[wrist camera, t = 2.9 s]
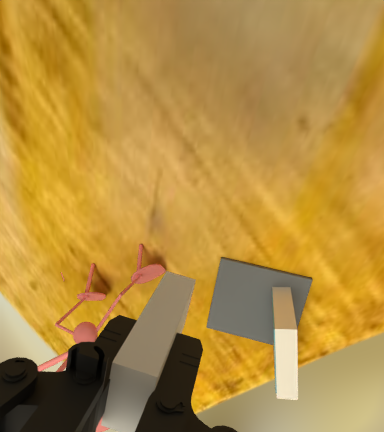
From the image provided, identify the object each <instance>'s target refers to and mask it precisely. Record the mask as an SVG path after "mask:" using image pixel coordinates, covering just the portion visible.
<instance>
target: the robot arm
mask: <svg viewBox="0 0 384 432" xmlns="http://www.w3.org/2000/svg"><path fill="white" fill-rule="evenodd" d="M195 281H196V280H195V279H191V278H188V277H185V276H181V275H178V274H174V273H171V272H168V271H166V273H165V275H164V277H163V278H162V280H161V282H160V283H159V285H158V287H157V288H156V290H155V292H154V293H153V295H152V297H151V298H150V300H149V302H148V303H147V305H146V307H145V308H144V310H143V312H142V313H141V315H140V317H139V318H138V320H134V319H130V318H127V317H124V316H121V315H119V316H117V317H115V318H113V319H112V320H110V321H109V322H108V324H107V325H106V326H105V328H104V330H103V331H102V332H101V333H100V335H99V337H97V339H96V340H95V342H90V341H89V342H80V343H78V344H75V345H73V346H72V347H71V348H70V349H69V350H68V357H67V365H66V370H65V371H61V372H42V371H38V367H37V365H36V364H35V363H34V362H33V361H32V360H29V359H27V358H18V357H17V358H12V359H8V360H6V361H4V362H2V363H0V432H96V427H97V426H98V424H99V422H100V420H101V418H102V422H101V426H104V427H107V428H110V429H113V430H115V431H118V432H237V431H236V430H234V429H233V428H230V427H227V426H215V427H213V428H212V429H211V428H209V427H208V426H207V425H205V424H204V423H203V422H202V421H200V420H199V419H198V418H197V416H196V415H195V414H194V412H193V409H192V406H191V396H192V392H193V388H194V384H195V380H196V376H197V372H198V368H199V364H200V360H201V356H202V352H203V348H202V345H201V341H200V340H199V339H196V338H193V337H190V336H187V335H183V334H181V333H182V330H183V327H184V324H185V320H186V316H187V312H188V308H189V304H190V300H191V296H192V293H193V289H194V285H195ZM102 416H103V417H102Z"/></svg>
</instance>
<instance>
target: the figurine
mask: <svg viewBox="0 0 384 432" xmlns="http://www.w3.org/2000/svg"><path fill="white" fill-rule="evenodd" d="M142 251H143V245H142V244H140V245H139V253H138V263H137V271H136V272H135V273H134V274H133V276H132V277H131V281H132V283H131V284H130V285H129V286H128V287H127V288H125V289H124V290H123V291H122V292H121V293H120V294H119V296H118V297H117V299H116V300H115V302H114V303H113V305H112V306H111V307H110V309H109V310H108V312H107V313H106V315H105V316H104V318H103V319H102V321H101V322H100V324H99V325H98V326H97V328H96V327H95V325H94V324H92V323H90V322H82V323H80V324H79V325H78V326H77V327H76V328H75V330H74V332H73V331H71V330H69V329H67V328H65V327H63V326H61V325H59V324H60V323H61V322H62V321H63V320H64V319H65V318H66V317H67V316H68V315H69V314H70V313H71V312H72V311H74V310H75V309H76V308H77V307H78V306H79V305H80V304H81V303H82V302H83V301H84V300H103V299H104V298H106V295H105V294H104V293H98V292H89V289H90V285H91V281H92V276H93V272H94V267H95V264H92V265H91V269H90V273H89V277H88V282H87V286H86V290H85V293H81V294H78V295H77V297H78V299H80V300H81V301H80V302H79V303H77V304H76V305H75V306H74V307H73V308H72V309H71V310H70V311H69V312H68V313H66V314H65V315H64V316H63V317H62V318H61V319H60V320H59V321H58V322H57V323H56V324H55V326H57V327H58V328H60V329H62V330H64V331H66V332H68V333H70V334H72V335H73V338H74V341H75V342H76V343H77V344H78V343H80V342H89V341H90V342H94V341H95V340H96V338H97V332H98V330H99V329H100V327H101V326H102V325H103V323H104V322H105V320H106V319H107V317H108V316H109V314H110V313H111V311H112V310H113V308H114V307H115V305H116V304H117V302H118V301H119V299H120V298H121V296H122V295H123V294H124V293H125V292H126V291H127V290H128V289H129V288H130V287H131V286H132V285H133V284H134V283H137V284H141V283H146V282H148V281H151V280H153V279H154V278H156V277H158V276H160V275H161V274H163V273H164V272H166V270H165V269H164V267H162V266H161V265H160V264H151V265H148V266H146V267H143V268H141V261H142ZM61 274H62V273H61ZM62 277H63V275H62ZM63 280H64V278H63ZM64 282H65V281H64ZM188 312H189V311H188ZM67 357H68V352H66V353H64V354H61V355H59V356H57V357H55V358H53V359H51V360H49V361H47V362H45V363H43V364H41V365H39V366H37V367H38V371H42V370H44V369H46V368H48V367H50V366H53V365H55V364H56V363H58V362H60V361H62V360H64V359H66V358H67ZM66 365H67V359H66V361H65V362H64V363H63V364H62V365H61V366H60V368H59V369H58V370H57V371H56V372H61V371H63V370H64V369H65V368H66ZM102 417H103V416H102ZM101 422H102V418H101V420H100V422H99V424H98V426H97V427H96V432H103V431H105V430H108V429H110V428H107V427H104V426H101Z"/></svg>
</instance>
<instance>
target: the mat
mask: <svg viewBox="0 0 384 432" xmlns="http://www.w3.org/2000/svg"><path fill="white" fill-rule="evenodd" d="M311 283H312V278H309V277H305V276H301V275H296V274H292V273H288V272H284V271H279V270H275V269H271V268H267V267H262V266H258V265H254V264H249V263H245V262H241V261H237V260H232V259H228V258H224V257H221V261H220V266H219V271H218V275H217V280H216V285H215V289H214V294H213V299H212V303H211V308H210V313H209V318H208V322H207V328H211V329H214V330H218V331H222V332H226V333H230V334H233V335H237V336H241V337H245V338H249V339H252V340H256V341H260V342H264V343H268V344H271V345H273V320H272V287H290V288H291V294H292V300H293V306H294V313H295V319H296V325H297V327H298V324H299V321H300V318H301V315H302V311H303V308H304V305H305V302H306V299H307V296H308V293H309V289H310V286H311Z"/></svg>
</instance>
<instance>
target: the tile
mask: <svg viewBox="0 0 384 432" xmlns="http://www.w3.org/2000/svg"><path fill="white" fill-rule="evenodd" d="M272 320H273V349H274V369H275V389H276V393H277V398H279V399H292V400H298V354H297V325H296V319H295V313H294V306H293V300H292V294H291V288H290V287H272Z"/></svg>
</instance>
